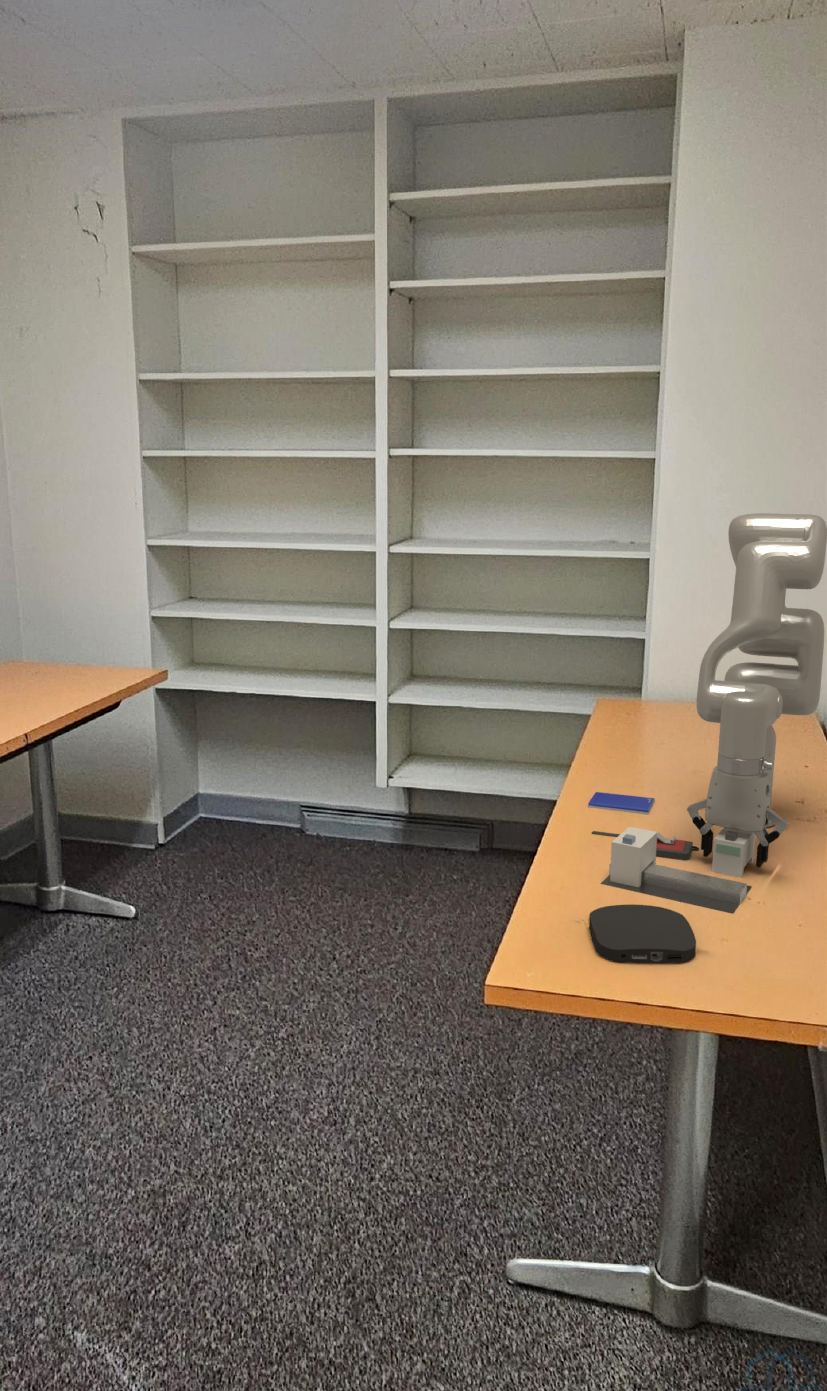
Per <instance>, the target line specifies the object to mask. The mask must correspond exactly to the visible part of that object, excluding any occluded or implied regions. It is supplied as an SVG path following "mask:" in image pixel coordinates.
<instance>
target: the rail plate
mask: <svg viewBox="0 0 827 1391" xmlns="http://www.w3.org/2000/svg"><path fill="white" fill-rule="evenodd" d="M610 868H611V862H610V863H609V869H608V870H609V871H608V875H607V877H606V878H605V879H604V880H603V881H601V882H600V885H605V886H609V887H612V888H617V889H621V890H625V891H631V892H635V893H639V894H643V895H647V896H648V895H649V896H653V897H656V898H662V899H666V900H670V901H675V902H680V903H683V904H687V905H691V906H697V907H700V908H701V907H702V908H705V909H709V910H710V909H711V910H715V911H719V912H722V913H728V914H730V915H731V914H732V915H733V914H735V912H736V910H737V909H738V908H739V906H740V904H741V903H742V902H743V901H744V899H745V898H746V896H748V894H749V892H750V890H751V889H752V888H753V886H752V885H749V884H748V883H746V882H741V881H736V880H732V879H726V878H721V877H717V876H712V875H706V874H702V873H699V872H693V871H688V870H684V869H679V868H674V867H670V866H665V865H660V864H657V863H656V864H651V863H650V864H649V865H648V866H647V867H646V868H645V869H644V870H643V871H642V875H641V885H640V886H639V887H634V886H630V885H625V884H621V883H616V882H612V881H610Z"/></svg>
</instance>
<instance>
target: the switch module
mask: <svg viewBox="0 0 827 1391" xmlns="http://www.w3.org/2000/svg"><path fill="white" fill-rule="evenodd" d="M756 838H757V837H756V835H755V833H753V832H747V831H741V830H735V829H730V828H725V827H722V829H721V830H720V832H718V834H717V835H715V837H713V847H712V864H711V872H714V873H717V874H723V875H727V876H732V877H737V878H742V877H743V876H744V870H745V867H746V866H747V865H748V863H749V864H753V863H754V862H755V861H754V860H755V847H756Z"/></svg>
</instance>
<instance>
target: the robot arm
mask: <svg viewBox="0 0 827 1391" xmlns="http://www.w3.org/2000/svg"><path fill="white" fill-rule="evenodd" d="M730 521H731V522H730V523H729V526H728V544H729V550H730V553H731V554H730V555H731V557H732V560H733V562H734V565H735V575H734V585H733V596H732V597H733V598H732V607H731V615H730V623H729V624H728V626H727V627H726V628H725V629H724V631H722V632H720V634H719V635H718V636H716V637H715V639H714V640H712V642H711V644H710V645H709V646H708V648H707V649H706V650H705V653H704V655H703V657H702V659H701V662H700V667H699V673H698V682H697V691H696V712H697V715H698V716H699V717H700V718H701V720H703V721H705V722H707V723H716V724H719V736H718V737H719V738H718V751H717V765H716V766H714V768H713V769H712V773H711V776H710V780H709V786H708V791H707V796H706V798H705V799H702V800H700V801H697V802H695V803H692V804H690V805H689V806H688V807H687V808H686V811H687V813H688V815H689V817H690V818H691V820H692V823H693V824H694V826H695V827H696V828H697V829H698V831H699V834H700V835H701V839H700V840H701V842H700V850H702V851H703V853H702V856H703V857H705V858H707V857H709V856H710V855H711V854H712V853H713V846H714V832H713V830H712V828H713V827H714V826H715V827H719V828H724V827H725V828H730V829H735V830H741V831H747V832H753V833H755V835H756V837H755V838H756V839H758V842H759V843H758V844H757V847H756V858H755V859H756V860H755V867H757V868H758V869H760V868H761V867H762V866H763V864H764V863H767V862H768V858H769V851H770V850H769V849H770V848H769V847H770V844H771V843H773V842H774V841H775V840H777V839H779V837H780V836H781V835H782V834H783V832H785V830H786V829H788V826H789V822H788V821H787V820H785V819H784V818H783V817H781V816H780V815H779V813H777V812H776V811H775V810H774V809H771V807H772V796H773V794H772V793H773V784H774V783H773V782H774V771H775V759H776V758H775V757H776V747H777V746H776V745H777V734H776V731H775V728H774V726H773V725H774V723H776V721H777V720H779V718H780V717H781V716H782V715H789V716H790V715H791V716H809V715H812V714H813V713H814V712H816V710H817V708H818V706H819V703H820V696H821V689H822V688H821V687H822V676H823V675H822V673H823V661H824V647H825V623H824V620H823V617H822V615H821V614H820V613H819V612H818V611H816V610H813V609H809V608H798V607H796V608H795V607H794V608H793V607H786V593H787V589H790V590H791V589H792V590H813V589H815V588H816V587H818V585H819V584H820V582H821V580H822V577H823V573H824V567H825V562H826V561H825V560H826V551H827V524H826V521H825V519H824V518H823V517H821V516H820V515H817V514H807V513H806V514H804V513H803V514H801V513H800V514H799V513H770V512H769V513H762V512H761V513H747V514H742V515H741V514H740V515H738V516H736V517H735V518H733V519H732V520H730ZM737 648H738V649H739V651H740V652H742V653H743V654H747V655H751V656H757V657H758V656H759V657H772V658H788V659H794V660H795V661H796V662H797V665H795V664H777V663H769V662H748V661H747V662H740V663H736V664H734V665H732V666H730V668H728V669H727V670H726V672H725V675H724V680H717V679H716V673H717V669H718V666H719V664H720V663H721V661H722V659H723V658H724V657H725V656H726V655H727V654H728V653H730V652H732V651H734V650H735V649H737ZM703 809H704V810H705V812H704V818H705V820H704V818H703V817H702V816H701V815H700V813H699V811H702V810H703ZM773 826H776V828H775V829H774V830H772V831H771V832H769V831H768V829H767V828H769V827H773Z"/></svg>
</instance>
